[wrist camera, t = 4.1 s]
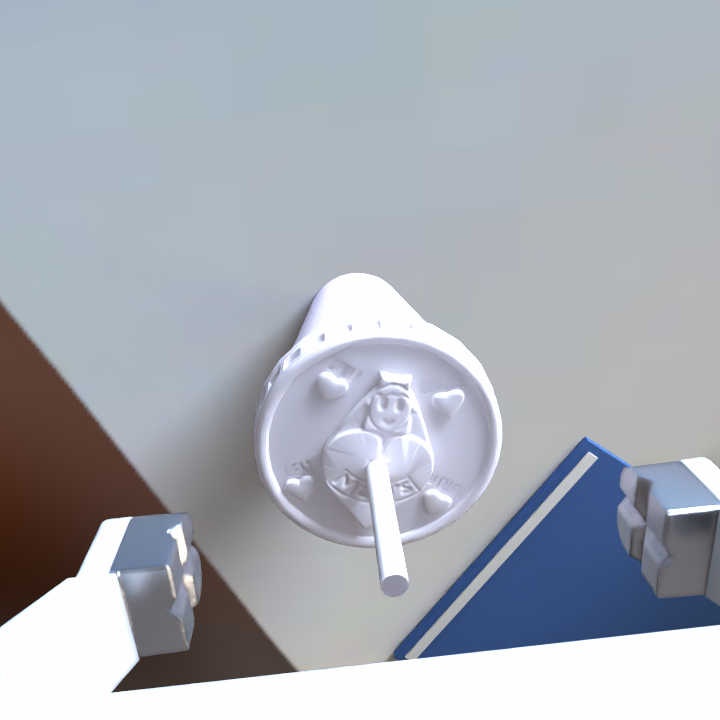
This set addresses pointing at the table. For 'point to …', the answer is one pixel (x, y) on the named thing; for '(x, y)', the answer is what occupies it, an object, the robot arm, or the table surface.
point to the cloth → (556, 575)
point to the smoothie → (375, 425)
